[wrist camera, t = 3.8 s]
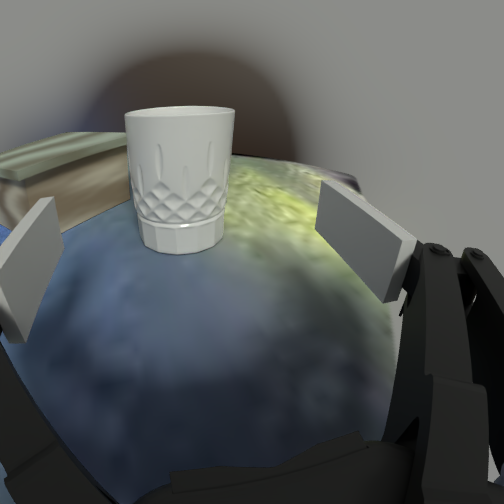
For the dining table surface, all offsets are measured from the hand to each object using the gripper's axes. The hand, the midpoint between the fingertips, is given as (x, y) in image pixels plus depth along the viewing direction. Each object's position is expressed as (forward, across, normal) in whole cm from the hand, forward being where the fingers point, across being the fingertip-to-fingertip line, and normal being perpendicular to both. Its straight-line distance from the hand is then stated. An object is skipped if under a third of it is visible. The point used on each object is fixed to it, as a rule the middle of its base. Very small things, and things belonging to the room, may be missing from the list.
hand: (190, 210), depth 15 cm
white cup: (+10, 0, -6) cm, 12 cm away
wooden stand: (+18, -14, -6) cm, 24 cm away
